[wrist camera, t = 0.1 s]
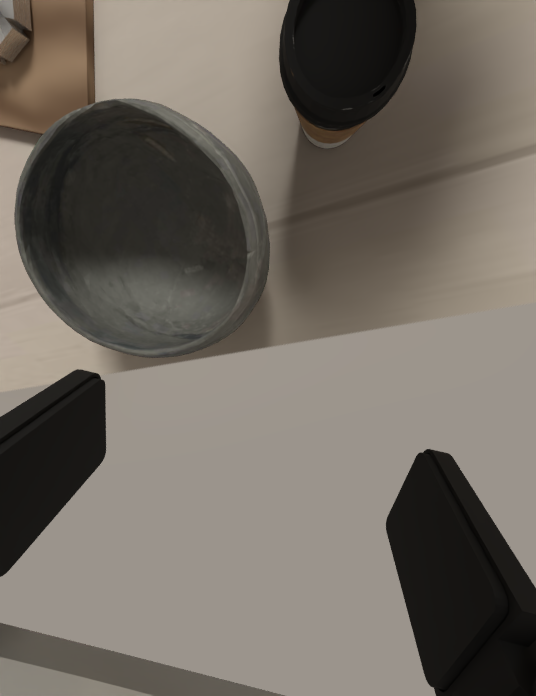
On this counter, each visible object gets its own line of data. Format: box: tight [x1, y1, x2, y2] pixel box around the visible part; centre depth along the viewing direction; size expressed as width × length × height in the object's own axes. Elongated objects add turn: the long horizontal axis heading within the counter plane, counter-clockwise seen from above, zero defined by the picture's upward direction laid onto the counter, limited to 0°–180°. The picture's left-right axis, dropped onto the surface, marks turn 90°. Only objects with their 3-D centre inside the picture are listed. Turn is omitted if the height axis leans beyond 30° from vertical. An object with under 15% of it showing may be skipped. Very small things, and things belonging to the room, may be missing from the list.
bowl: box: [15, 99, 270, 358], centre depth 31 cm, size 21×21×15 cm
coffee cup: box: [279, 0, 416, 149], centre depth 25 cm, size 8×8×15 cm
